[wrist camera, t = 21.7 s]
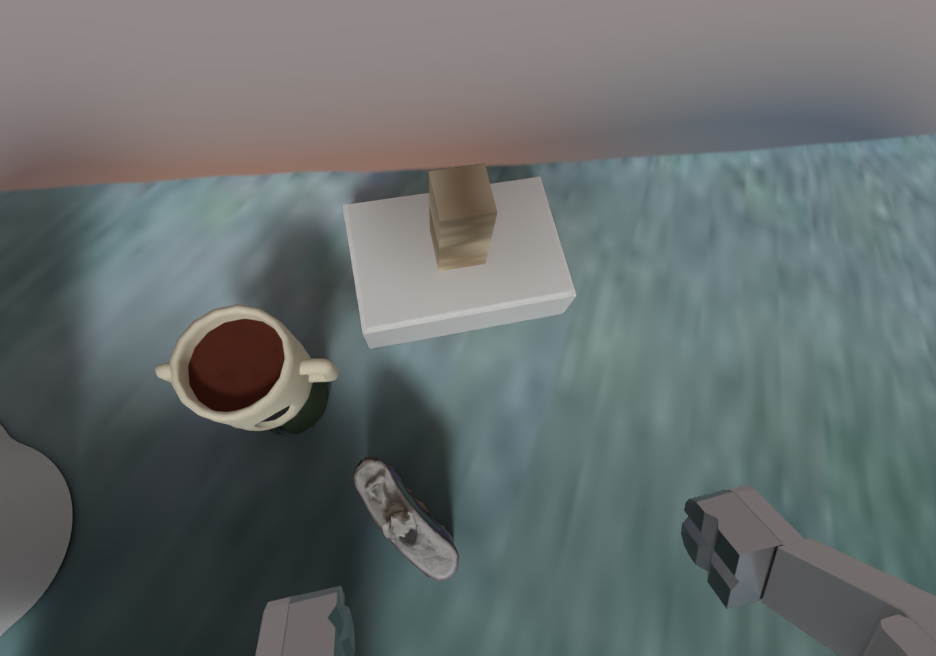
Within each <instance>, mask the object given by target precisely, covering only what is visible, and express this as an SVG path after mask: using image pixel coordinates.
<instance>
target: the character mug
mask: <svg viewBox="0 0 936 656" xmlns="http://www.w3.org/2000/svg"><path fill="white" fill-rule="evenodd" d="M155 372H156V374H157V376H158V377H159V378H161V379H163V380H165V381H168V382H170V383H172V386H173V387H174V389H175V391H176V393H177V395H178V396H179V398H180V400H181V402H182V403H183V404H184V405H186V406H187V407H188V408H190V409H191V410H192V411H194V412H195V413H196V414H198V415H199V416H202V417H205V418H208V419H210V420H212V421H215V422H219V423H224V424H228V425H231V426H233V427H235V428H240V429H244V430H249V431H263V430H270V431H272V432H274V433H276V434H281V433H280V432H279V431H277V430H276V429H275V427H279V428H282V429H286V430H288V431H290V432H291V433H293V434H298V433H300V432H302V431H304V430H306V429H308V428H309V427H311V426H313V425H314V424H315V423H316V421H317V420H318V419H319V418H320V416H321V415H322V414H323V413H324V411H325V407H326V403H327V398H328V391H327V385H326V382H330V381H333V380H336V378H337V377H338V375H339V372H338V370H337V368H336V367H335V365H334V364H333V363H332V362H331V361H329V360H326V359H311V358H310V356H309V355H308V353H307V352H306V350H305V349H304V347H303V346H302V344H301V343H300V342H299V341H298V340H297V339H296V338H295V337H294V335H293V334H292V333H291V332H290V331H289V330H288V329H287V328H286V327H285V326H284V325H283V324H282V323H281V322H280V321H279V320H277V319H276V318H274V317H273V316H271V315H269V314H268V313H266V312H265V311H263V310H262V309H260V308H255V307H249V306H244V305H238V304H237V305H232V306H227V307H222V308H217V309H214V310H212V311H210V312H209V313H207V314H205V315H204V316H202V317H200V318H198V319H197V320H195V321H193V322H192V324H191V325H190V326H189V327H188V328H187V329H186V331H185V332H184V333H183V334H182V335H181V336H180V338H179V339H178V340H177V343H176V346H175V348H174V351H173V354H172V357H171V359H170V363H165V364H161V365H158V367H157V368H156V369H155Z"/></svg>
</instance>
